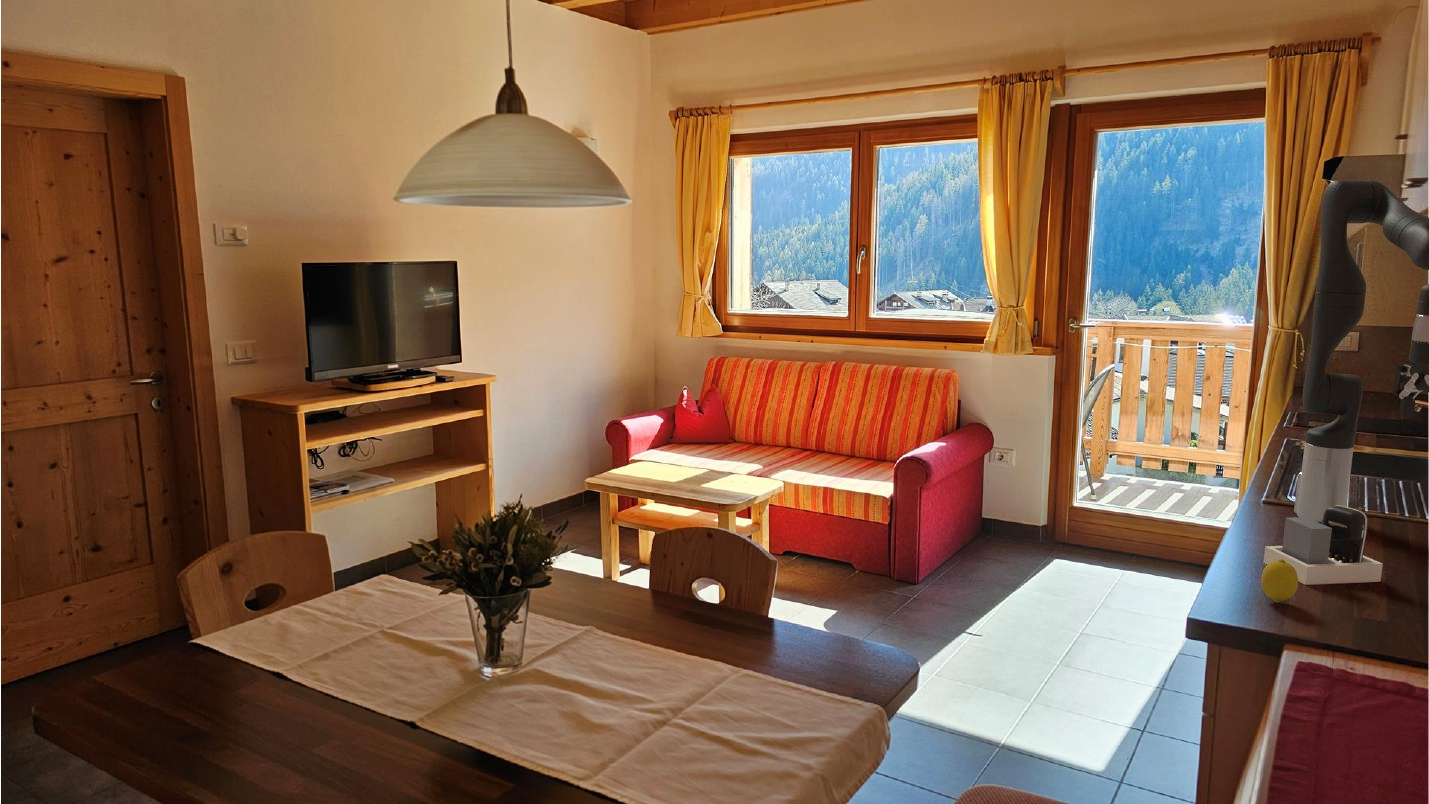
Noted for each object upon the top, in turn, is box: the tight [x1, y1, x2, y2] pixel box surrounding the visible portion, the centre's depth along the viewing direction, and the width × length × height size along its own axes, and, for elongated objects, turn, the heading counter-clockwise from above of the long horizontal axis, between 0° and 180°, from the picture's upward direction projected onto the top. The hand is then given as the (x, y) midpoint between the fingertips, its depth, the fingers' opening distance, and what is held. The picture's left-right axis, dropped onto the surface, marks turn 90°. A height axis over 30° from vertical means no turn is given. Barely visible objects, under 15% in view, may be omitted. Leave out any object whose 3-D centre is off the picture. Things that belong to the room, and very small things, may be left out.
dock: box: [1263, 516, 1384, 586], centre depth 180 cm, size 11×15×10 cm
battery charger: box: [1321, 505, 1369, 563], centre depth 180 cm, size 7×4×11 cm, turn 23°
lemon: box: [1260, 559, 1299, 604], centre depth 166 cm, size 6×6×8 cm
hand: (1424, 422), depth 182 cm, fingers open, 8 cm apart
